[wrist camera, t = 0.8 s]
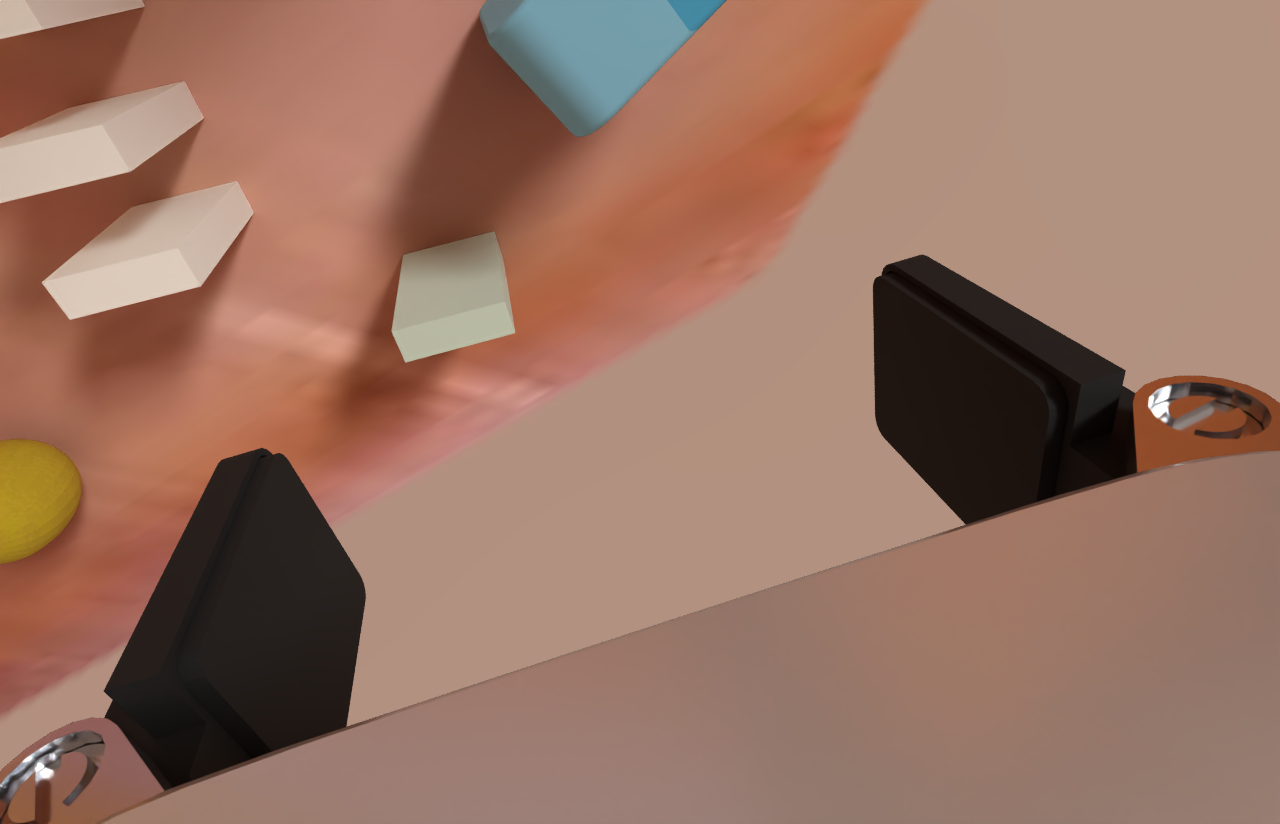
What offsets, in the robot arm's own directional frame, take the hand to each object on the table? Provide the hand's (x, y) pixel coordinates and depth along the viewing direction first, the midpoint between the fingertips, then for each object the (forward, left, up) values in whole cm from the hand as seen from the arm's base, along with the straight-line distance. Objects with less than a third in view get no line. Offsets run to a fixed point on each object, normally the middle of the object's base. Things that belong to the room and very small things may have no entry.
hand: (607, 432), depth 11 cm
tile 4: (+2, -16, -29) cm, 33 cm away
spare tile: (+7, -5, -29) cm, 30 cm away
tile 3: (-3, -16, -29) cm, 33 cm away
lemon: (+12, -30, -29) cm, 43 cm away
